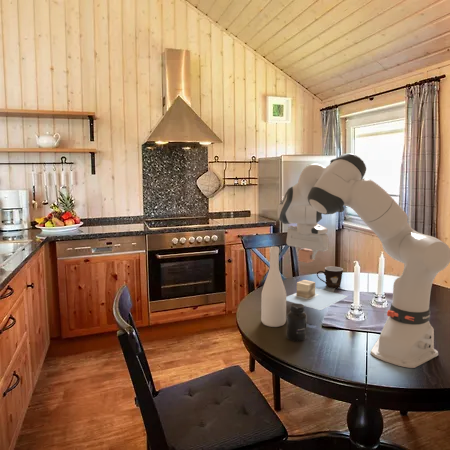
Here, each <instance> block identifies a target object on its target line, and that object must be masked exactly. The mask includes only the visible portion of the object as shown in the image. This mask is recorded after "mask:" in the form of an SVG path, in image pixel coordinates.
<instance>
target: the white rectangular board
mask: <svg viewBox="0 0 450 450" xmlns="http://www.w3.org/2000/svg"><path fill="white" fill-rule="evenodd" d="M348 297H349V295H345V294H342V293H338V292H333V291H328V290H325V289H323V288H322V289H320V288H317V287H315V295H314V296H312V297H309V298H305V297H301V296H298V295H297V292H294V293H293V294H290V295H286V302H290V303H292V304H294V303H298V304H302V305H304V307H307V308H310V309H314V310H316V311H317V310H318V311H323V310H325V309H326V308H328V307H330V306H333V305H334V304H336V303H339V302H340V301H342V300H344V299H346V298H348Z"/></svg>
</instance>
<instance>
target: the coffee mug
mask: <svg viewBox="0 0 450 450" xmlns="http://www.w3.org/2000/svg"><path fill="white" fill-rule="evenodd" d="M343 271H344V268H342V267H339V266H330V265H329V266H325V267H324V270H318V271H317V272H316V277H317V278H318V279H319V280H320V281H321V282H323V283H324V284H325V286H326V288H328V289H340V288H341V285H342V278H343ZM319 273H323V274H324V277H325V280H324V279H323V278H321V277H319Z"/></svg>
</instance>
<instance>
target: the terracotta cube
mask: <svg viewBox="0 0 450 450" xmlns="http://www.w3.org/2000/svg"><path fill="white" fill-rule="evenodd" d="M312 254H313V252H312V250H311V249H305V248H301V249H300V250H299V257H298V262H301V263H306V264H309V263H311V262H314V261H315V259H314V260H312V259H310V255H312Z"/></svg>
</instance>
